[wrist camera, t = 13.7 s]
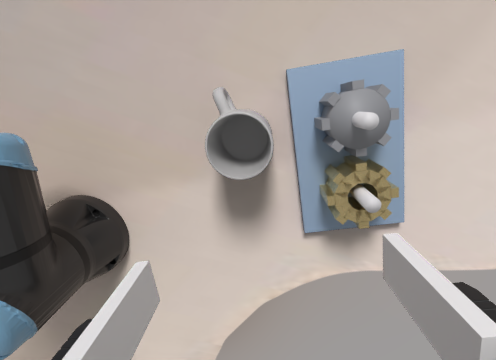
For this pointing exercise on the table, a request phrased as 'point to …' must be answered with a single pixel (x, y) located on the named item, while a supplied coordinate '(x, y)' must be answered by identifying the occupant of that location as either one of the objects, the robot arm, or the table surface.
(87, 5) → the table surface
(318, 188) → the gear board
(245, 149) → the mug
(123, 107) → the table surface
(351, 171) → the brass gear
